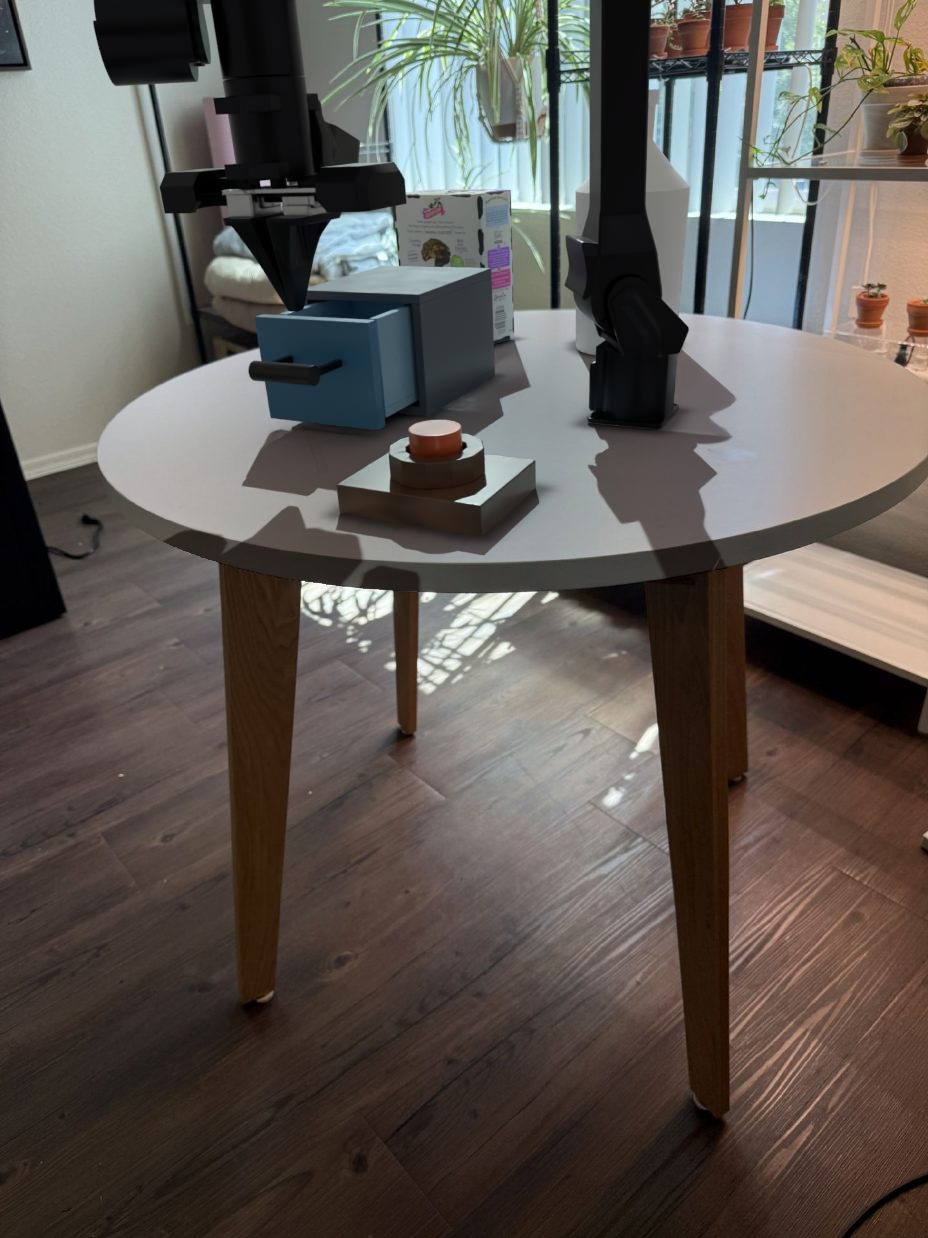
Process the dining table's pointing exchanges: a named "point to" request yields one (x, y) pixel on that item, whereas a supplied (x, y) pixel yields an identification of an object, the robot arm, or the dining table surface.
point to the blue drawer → (338, 362)
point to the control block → (439, 488)
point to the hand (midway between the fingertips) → (296, 310)
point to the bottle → (666, 222)
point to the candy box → (462, 240)
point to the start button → (435, 438)
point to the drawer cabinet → (432, 323)
